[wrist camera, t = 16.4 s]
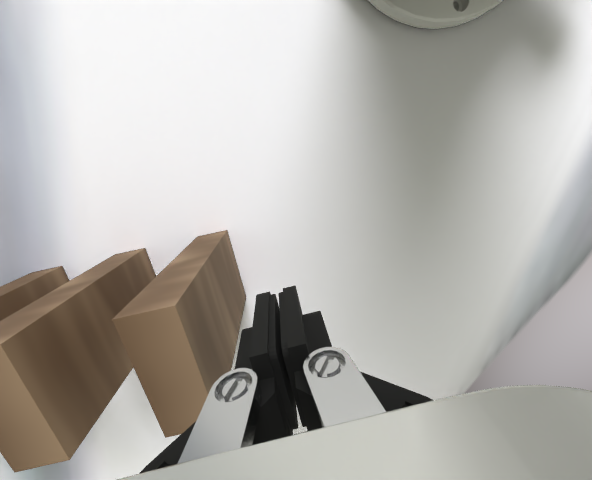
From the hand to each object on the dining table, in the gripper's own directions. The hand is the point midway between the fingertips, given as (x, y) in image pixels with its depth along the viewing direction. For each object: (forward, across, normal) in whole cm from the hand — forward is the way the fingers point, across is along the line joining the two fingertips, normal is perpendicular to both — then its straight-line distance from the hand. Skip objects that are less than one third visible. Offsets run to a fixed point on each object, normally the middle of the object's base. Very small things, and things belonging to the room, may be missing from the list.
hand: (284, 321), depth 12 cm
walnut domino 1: (+8, +4, 0) cm, 9 cm away
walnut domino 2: (+8, +9, 0) cm, 12 cm away
